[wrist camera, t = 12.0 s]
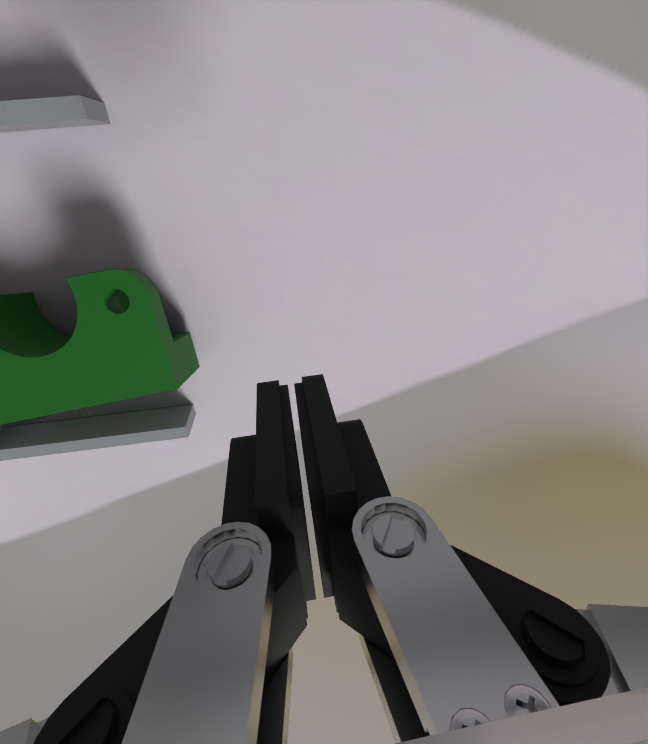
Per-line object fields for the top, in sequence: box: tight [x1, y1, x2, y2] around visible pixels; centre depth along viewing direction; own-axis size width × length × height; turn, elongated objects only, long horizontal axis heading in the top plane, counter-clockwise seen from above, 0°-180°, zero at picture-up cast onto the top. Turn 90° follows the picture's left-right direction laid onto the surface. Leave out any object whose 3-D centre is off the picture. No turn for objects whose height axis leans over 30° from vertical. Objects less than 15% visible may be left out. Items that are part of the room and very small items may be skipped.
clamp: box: [0, 269, 200, 425], centre depth 20 cm, size 12×6×9 cm, turn 95°
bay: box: [0, 95, 196, 461], centre depth 19 cm, size 13×18×6 cm
